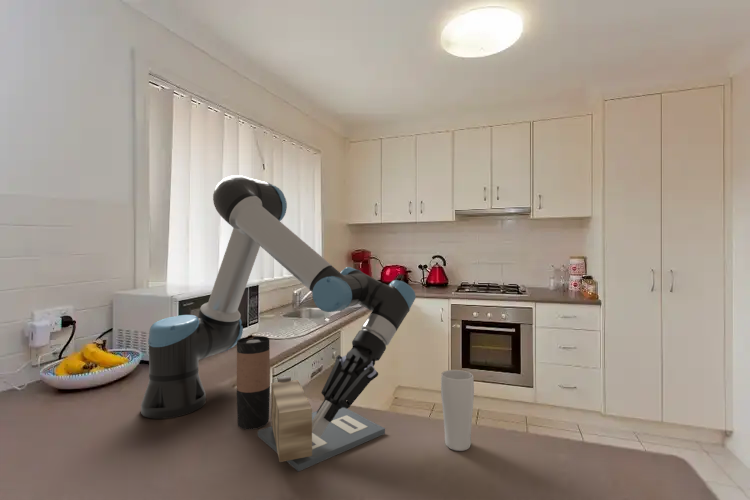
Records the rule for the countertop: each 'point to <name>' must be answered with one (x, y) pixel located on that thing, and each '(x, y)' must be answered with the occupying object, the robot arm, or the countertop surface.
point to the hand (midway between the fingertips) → (313, 432)
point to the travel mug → (253, 382)
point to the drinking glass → (457, 408)
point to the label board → (332, 437)
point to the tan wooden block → (291, 419)
